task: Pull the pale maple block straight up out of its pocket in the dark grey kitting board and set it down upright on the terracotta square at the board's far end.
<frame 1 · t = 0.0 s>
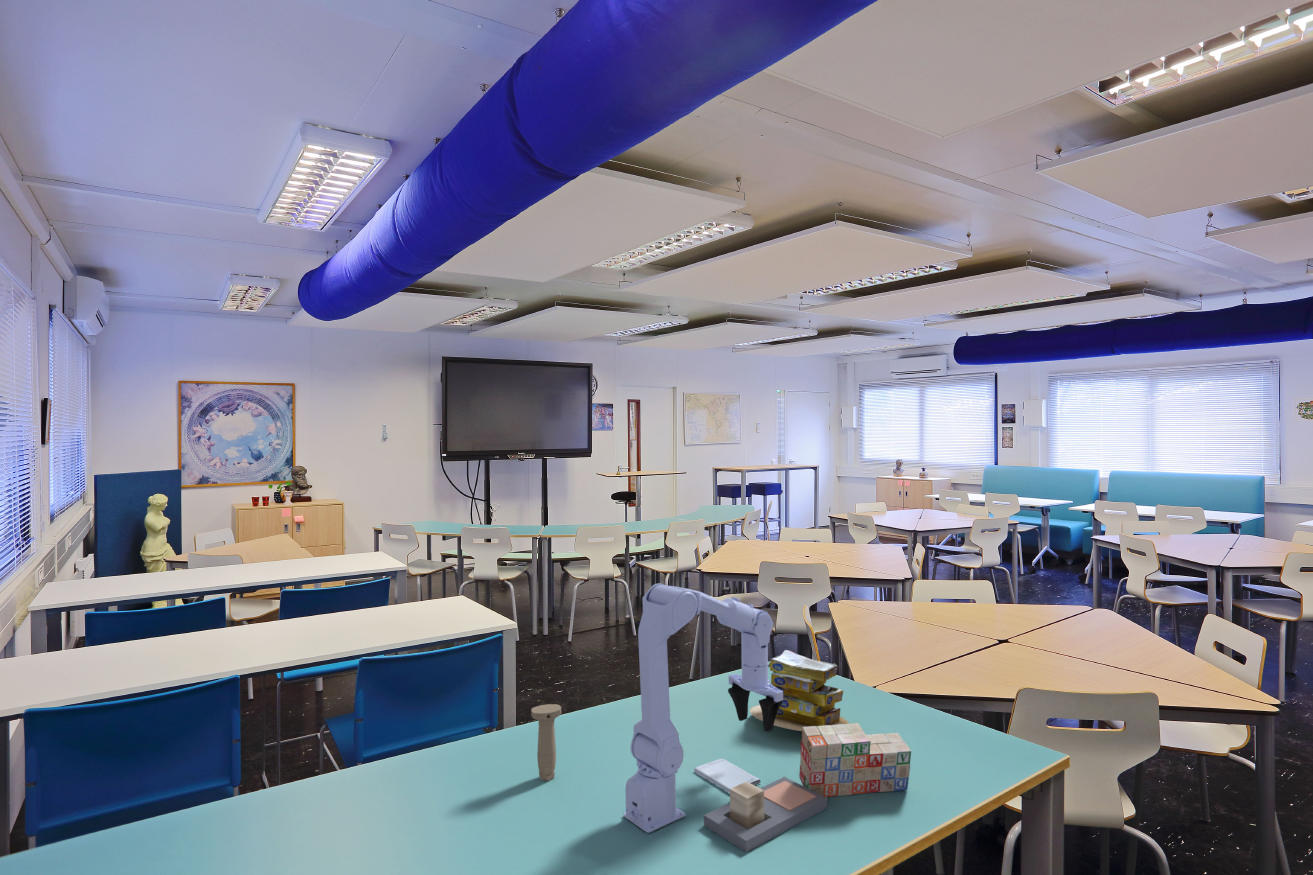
hand: (755, 724, 151), 10 cm above the table, tool pointing down, fingers open, 7 cm apart
hard drive: (726, 781, 148), on the table
maple block: (747, 826, 129), resting in kitting board
kitting board: (767, 816, 132), on the table
handle: (546, 778, 148), on the table
stack of yellow boxes: (799, 725, 175), on the table
stack of blocks: (852, 784, 143), on the table
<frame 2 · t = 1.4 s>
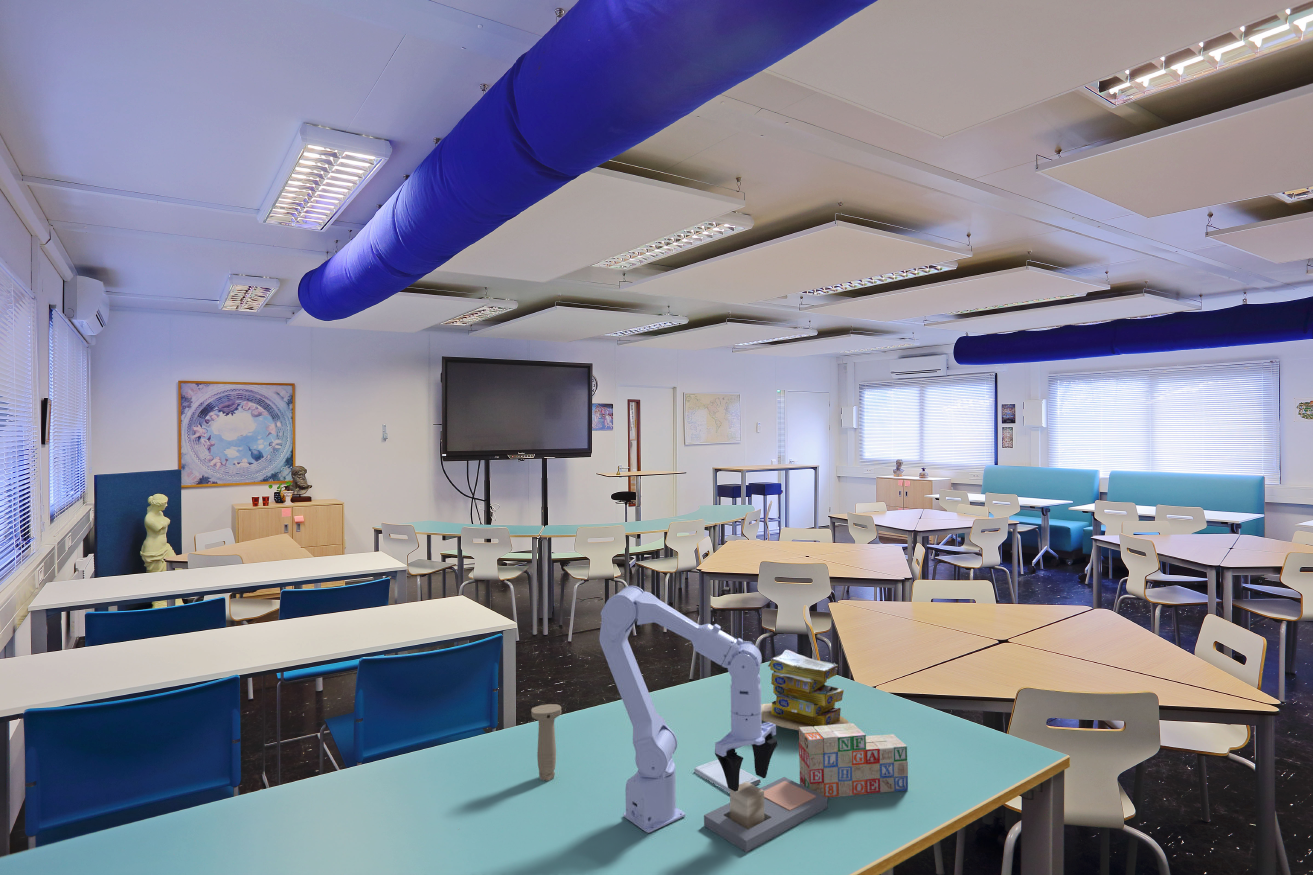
hand: (747, 782, 129), 8 cm above the table, tool pointing down, fingers open, 7 cm apart
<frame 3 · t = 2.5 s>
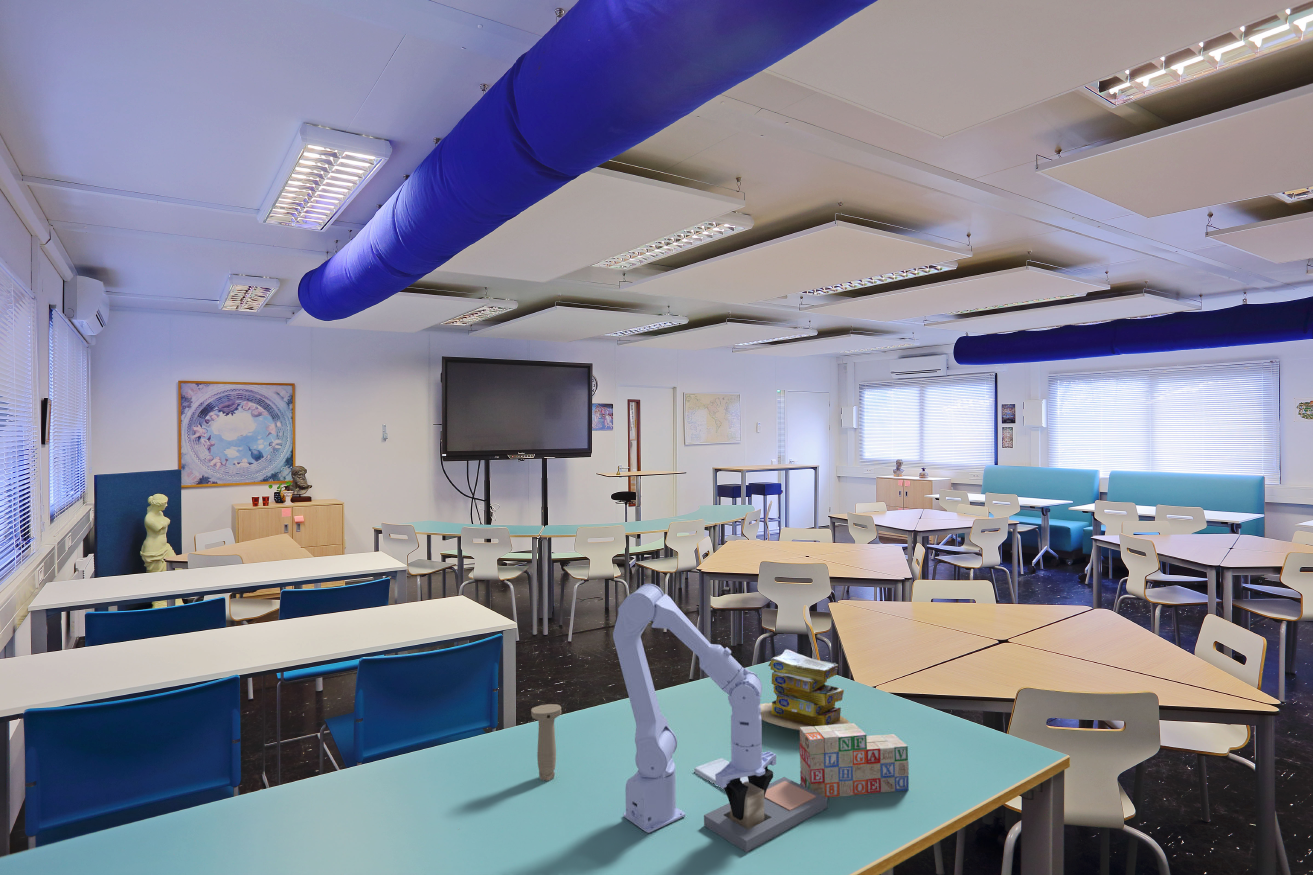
hand: (747, 812, 129), 3 cm above the table, tool pointing down, fingers closed on maple block, 4 cm apart
maple block: (747, 826, 129), resting in kitting board, touching gripper
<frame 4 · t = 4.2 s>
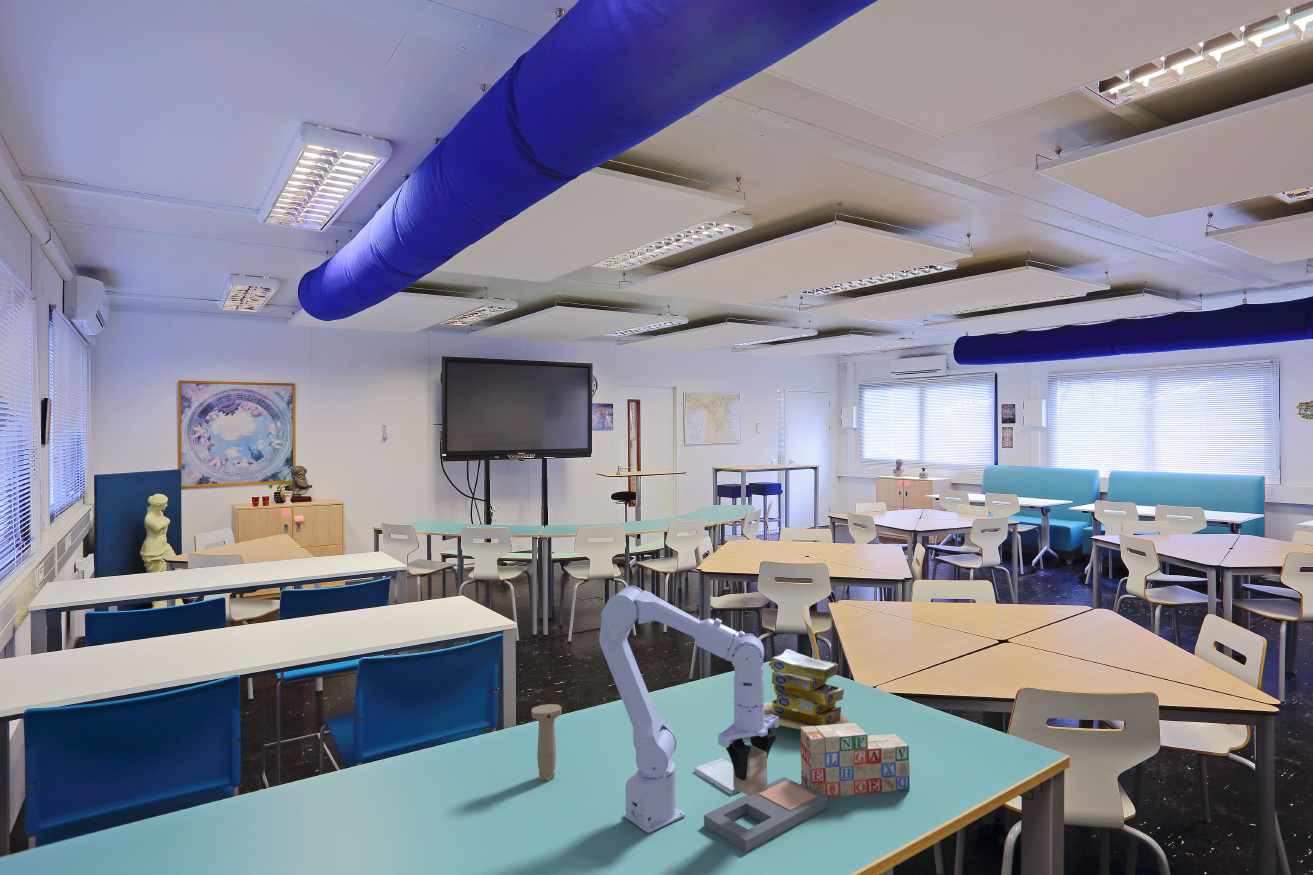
hand: (750, 773, 129), 10 cm above the table, tool pointing down, fingers closed on maple block, 4 cm apart
maple block: (750, 788, 129), point 7 cm above the table, touching gripper
when the fingers open (6 cm above the table, at t = 5.9 s): maple block drops 1 cm, resting on kitting board.
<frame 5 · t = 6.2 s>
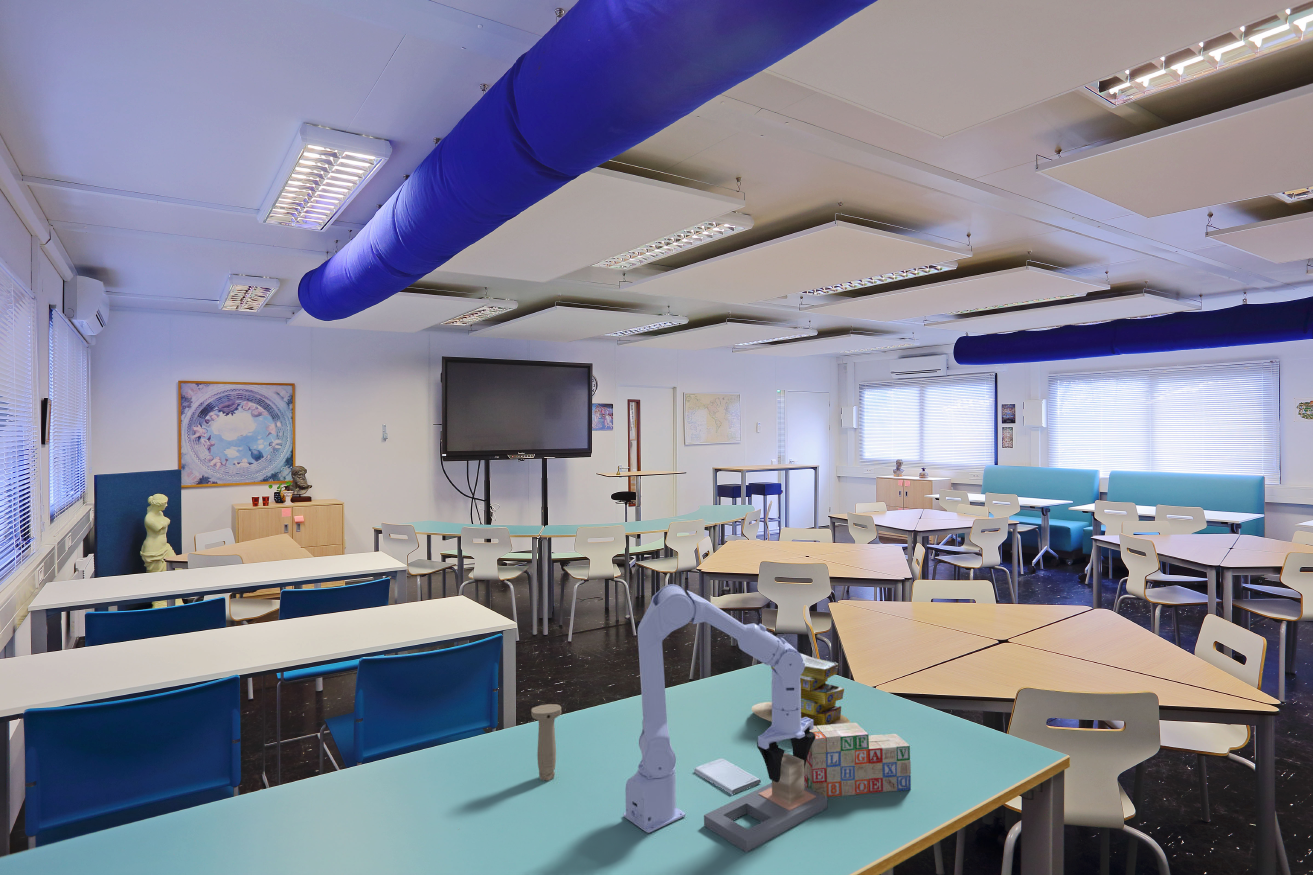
hand: (787, 773, 136), 6 cm above the table, tool pointing down, fingers open, 7 cm apart
maple block: (788, 794, 136), point 2 cm above the table, touching kitting board
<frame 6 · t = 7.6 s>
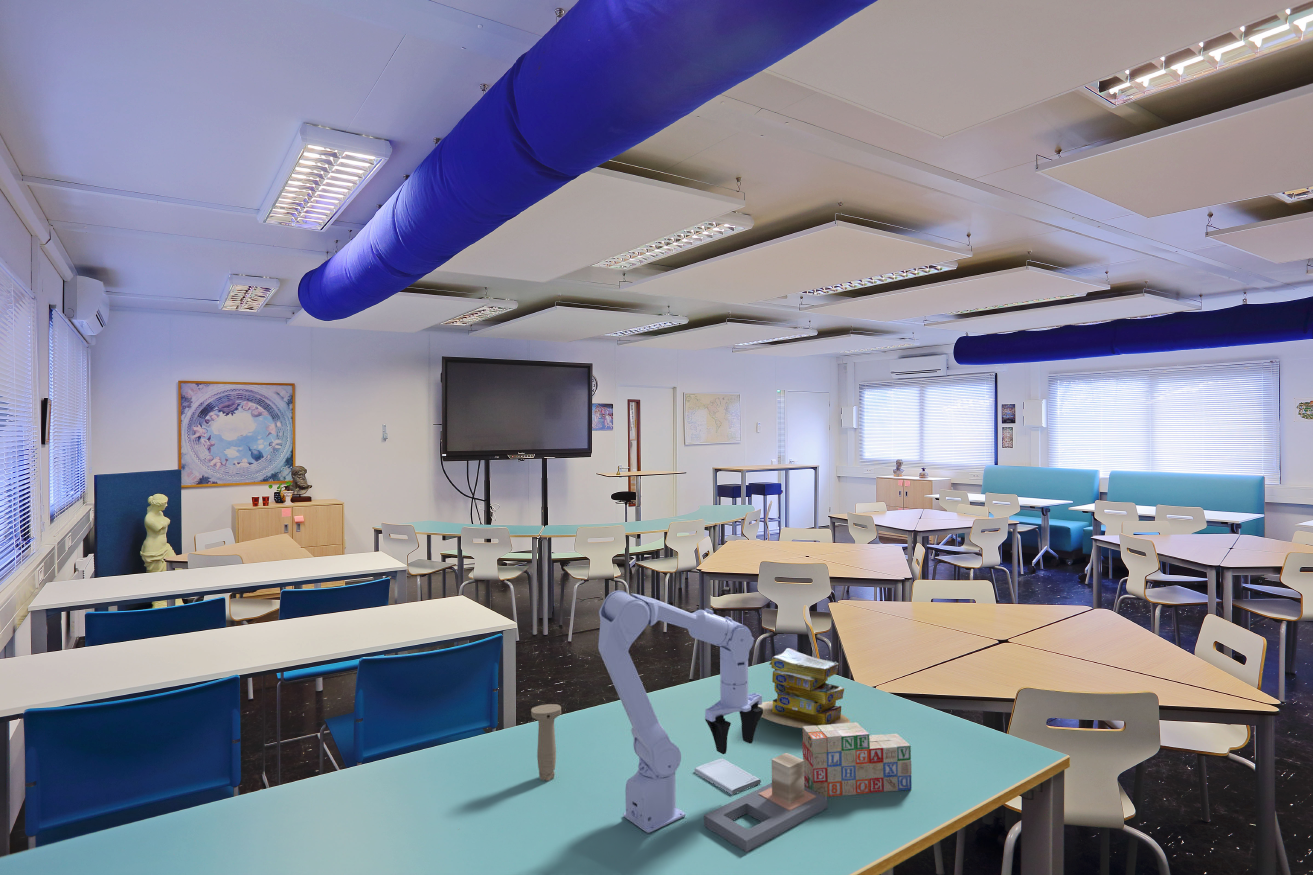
hand: (734, 746, 140), 10 cm above the table, tool pointing down, fingers open, 7 cm apart
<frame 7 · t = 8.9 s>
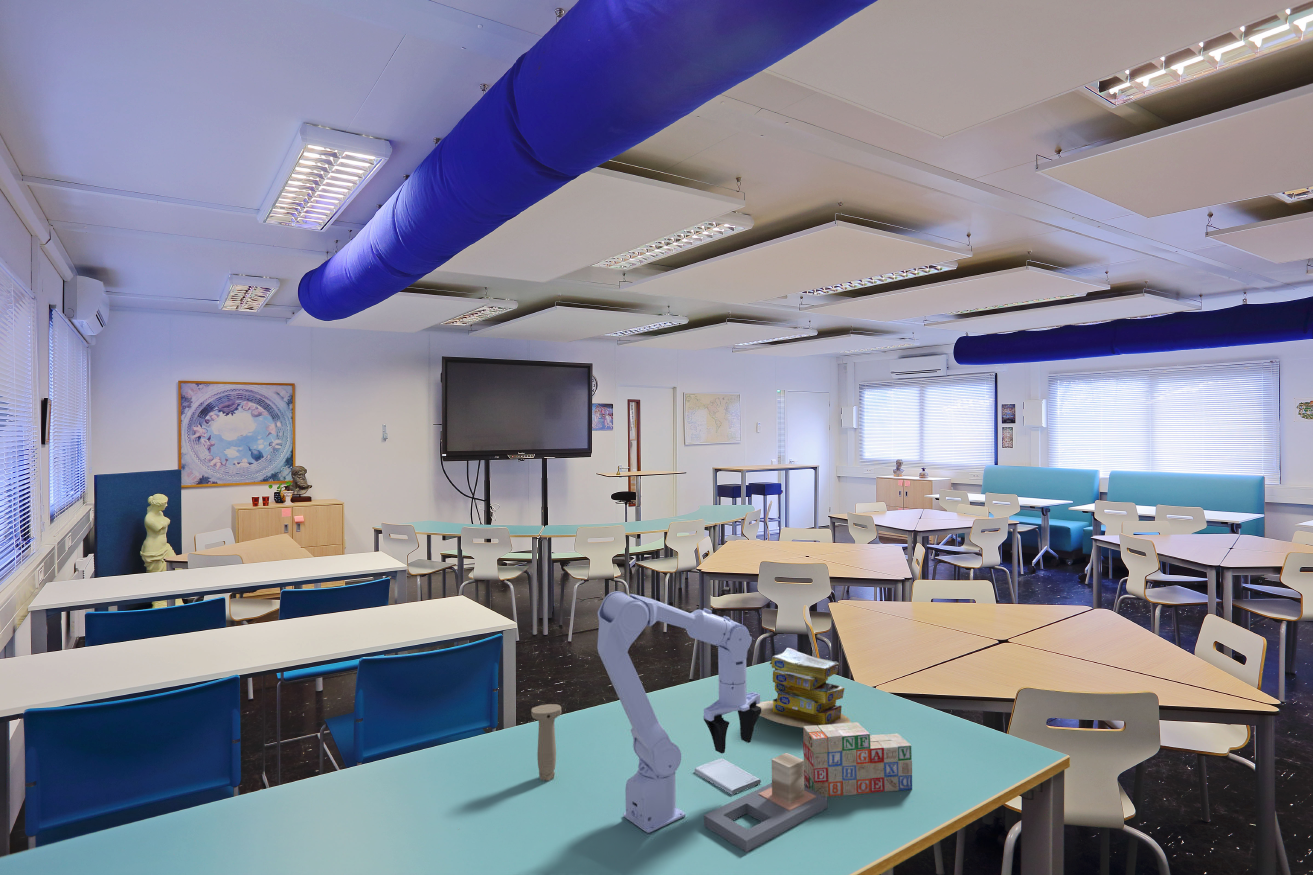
hand: (733, 746, 141), 10 cm above the table, tool pointing down, fingers open, 7 cm apart
at the end: maple block 0.2 cm from the target spot on the kitting board, point 2.2 cm above the kitting board's base; maple block tilted 0°; the gripper is holding nothing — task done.
